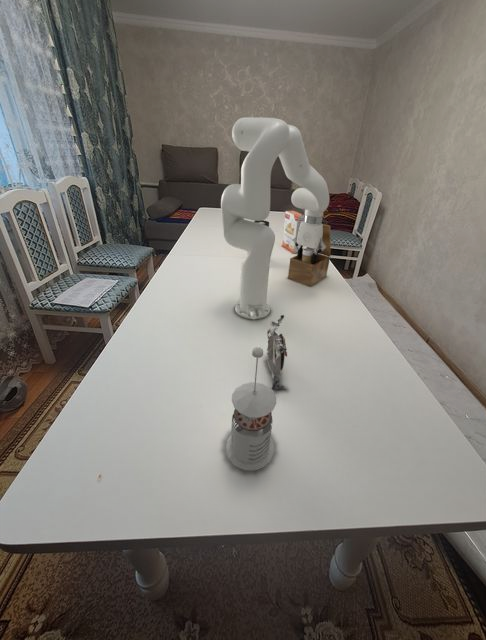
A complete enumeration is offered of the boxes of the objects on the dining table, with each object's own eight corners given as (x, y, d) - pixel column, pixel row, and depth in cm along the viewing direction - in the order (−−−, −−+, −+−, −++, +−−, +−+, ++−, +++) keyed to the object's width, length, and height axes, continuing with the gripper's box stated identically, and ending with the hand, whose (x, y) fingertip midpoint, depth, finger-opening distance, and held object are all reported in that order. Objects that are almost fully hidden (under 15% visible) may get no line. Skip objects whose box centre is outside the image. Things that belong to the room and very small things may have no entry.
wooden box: (310, 286, 129) (314, 265, 124) (287, 278, 134) (290, 258, 130) (326, 276, 140) (330, 257, 135) (304, 269, 146) (307, 250, 141)
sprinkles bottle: (297, 277, 134) (301, 249, 127) (302, 275, 137) (306, 247, 131) (305, 281, 131) (309, 252, 125) (310, 278, 135) (315, 250, 128)
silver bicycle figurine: (288, 390, 74) (294, 348, 67) (271, 390, 73) (276, 348, 67) (279, 352, 87) (284, 314, 80) (265, 352, 86) (268, 314, 80)
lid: (329, 226, 123) (335, 219, 125) (304, 220, 129) (310, 214, 131) (329, 256, 135) (335, 249, 137) (306, 250, 141) (312, 243, 143)
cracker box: (281, 245, 176) (285, 210, 166) (290, 245, 179) (294, 210, 169) (293, 253, 165) (297, 216, 155) (302, 252, 168) (307, 215, 158)
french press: (215, 451, 58) (214, 351, 46) (249, 413, 66) (256, 320, 54) (256, 481, 53) (267, 379, 41) (287, 436, 62) (303, 340, 50)
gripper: (290, 216, 123) (285, 256, 132) (328, 225, 114) (320, 267, 123) (299, 214, 128) (294, 253, 137) (335, 222, 120) (328, 263, 128)
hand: (306, 259), depth 130 cm, fingers open, 6 cm apart
